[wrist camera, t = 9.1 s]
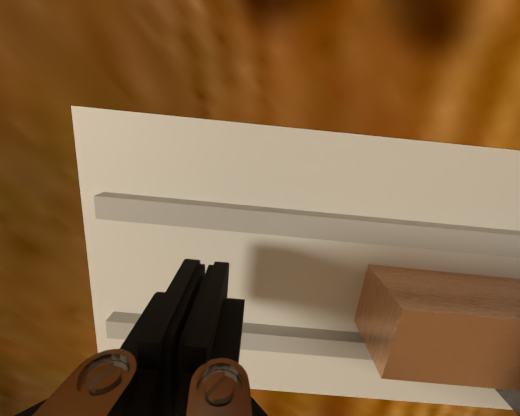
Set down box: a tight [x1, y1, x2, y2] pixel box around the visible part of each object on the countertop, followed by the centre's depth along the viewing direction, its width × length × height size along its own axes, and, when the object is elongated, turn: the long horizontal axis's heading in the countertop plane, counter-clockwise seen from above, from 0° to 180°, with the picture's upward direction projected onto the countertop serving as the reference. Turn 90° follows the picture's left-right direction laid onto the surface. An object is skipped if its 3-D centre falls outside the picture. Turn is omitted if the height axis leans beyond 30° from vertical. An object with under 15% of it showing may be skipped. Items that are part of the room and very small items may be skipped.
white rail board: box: [71, 106, 520, 410], centre depth 13 cm, size 14×34×2 cm, turn 85°
